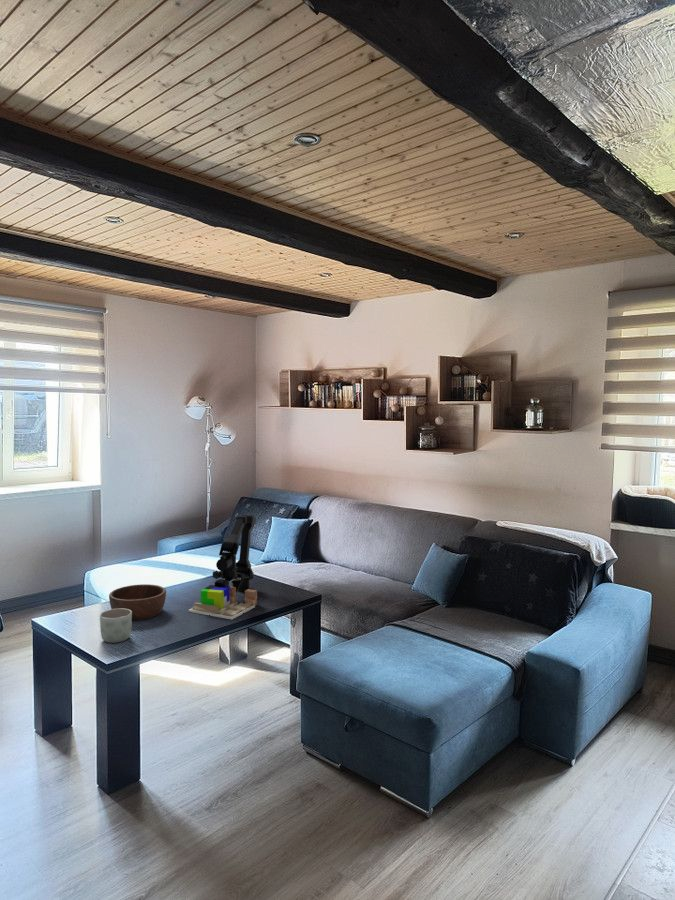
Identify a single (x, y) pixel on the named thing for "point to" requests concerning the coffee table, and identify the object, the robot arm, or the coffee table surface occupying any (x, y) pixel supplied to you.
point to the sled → (216, 608)
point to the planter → (116, 625)
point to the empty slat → (249, 601)
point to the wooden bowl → (139, 600)
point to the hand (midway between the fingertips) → (230, 596)
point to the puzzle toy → (216, 596)
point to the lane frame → (222, 613)
